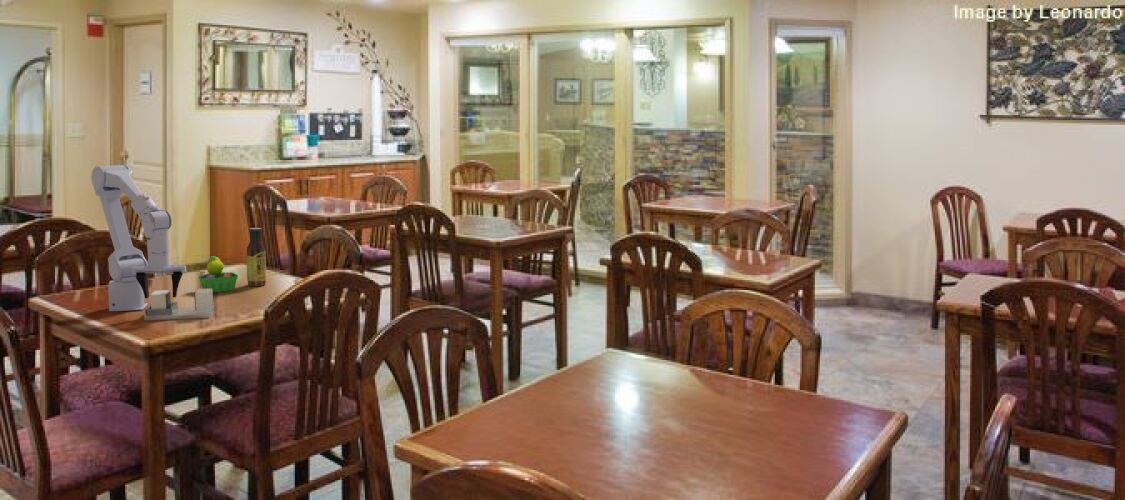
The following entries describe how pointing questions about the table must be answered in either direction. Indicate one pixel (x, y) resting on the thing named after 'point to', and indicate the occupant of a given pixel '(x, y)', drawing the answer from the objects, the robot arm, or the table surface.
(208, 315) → the grey boxy piece
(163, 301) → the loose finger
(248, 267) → the sauce bottle
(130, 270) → the robot arm
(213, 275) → the fruit basket
